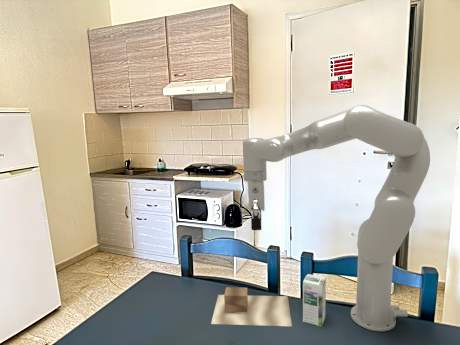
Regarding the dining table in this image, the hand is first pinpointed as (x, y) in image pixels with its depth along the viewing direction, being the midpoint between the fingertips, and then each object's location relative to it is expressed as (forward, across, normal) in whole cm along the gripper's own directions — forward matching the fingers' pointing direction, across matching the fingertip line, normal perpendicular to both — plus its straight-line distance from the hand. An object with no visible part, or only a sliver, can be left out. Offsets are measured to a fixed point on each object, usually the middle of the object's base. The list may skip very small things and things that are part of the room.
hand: (256, 224), depth 109 cm
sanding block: (+24, -11, +7) cm, 28 cm away
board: (+26, -11, +2) cm, 28 cm away
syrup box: (+26, -15, -17) cm, 35 cm away
